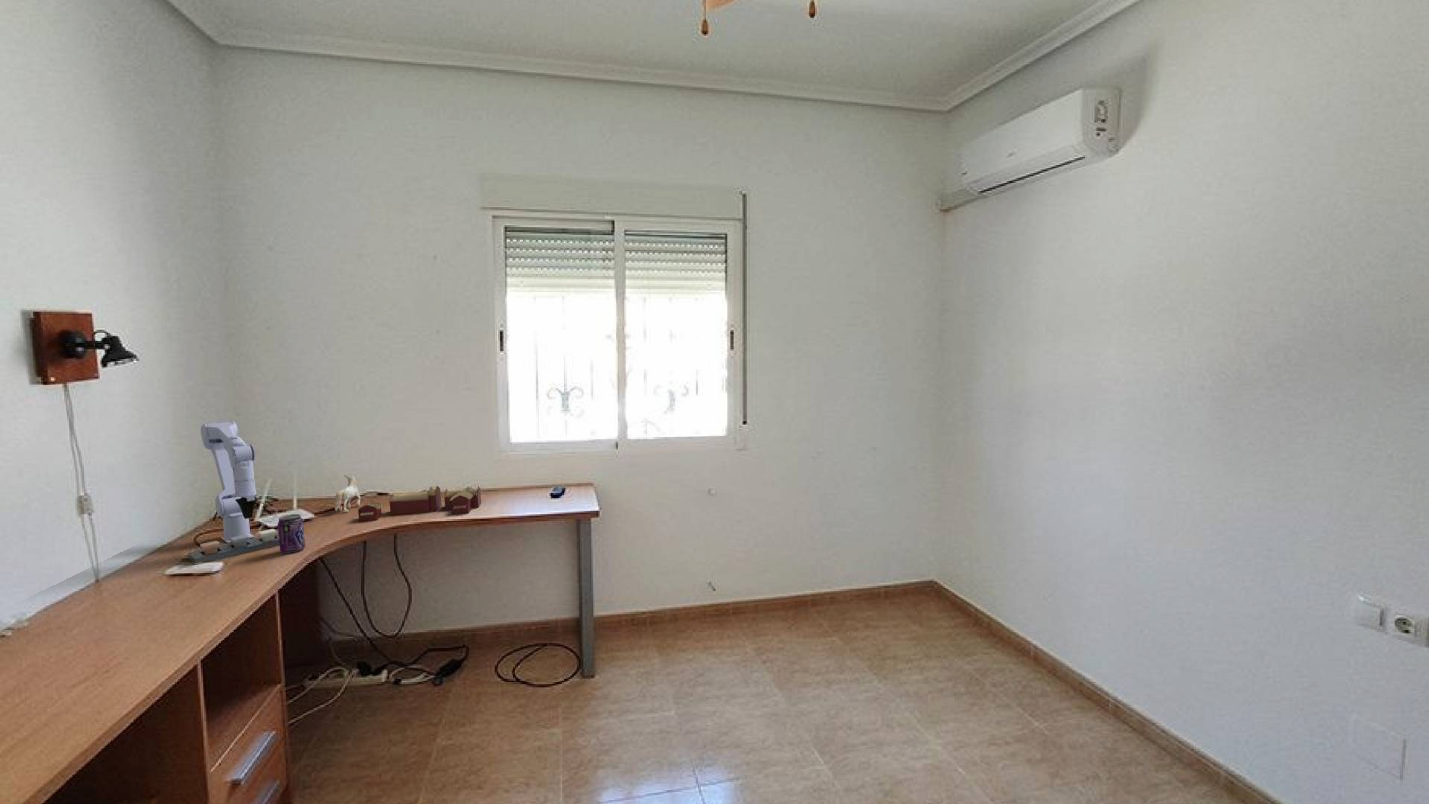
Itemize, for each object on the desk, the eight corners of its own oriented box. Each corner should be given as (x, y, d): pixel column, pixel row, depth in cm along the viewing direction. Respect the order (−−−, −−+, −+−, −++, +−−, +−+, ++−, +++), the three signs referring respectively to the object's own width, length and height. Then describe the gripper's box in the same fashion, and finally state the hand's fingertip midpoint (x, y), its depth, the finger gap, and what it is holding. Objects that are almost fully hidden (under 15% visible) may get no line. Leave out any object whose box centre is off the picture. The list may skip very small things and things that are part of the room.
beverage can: (292, 554, 202) (289, 520, 201) (275, 553, 203) (271, 519, 202) (310, 547, 209) (307, 514, 207) (293, 546, 210) (290, 513, 209)
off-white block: (259, 541, 213) (258, 531, 213) (274, 537, 217) (273, 528, 216) (262, 543, 211) (261, 534, 210) (277, 540, 214) (276, 531, 214)
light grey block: (231, 547, 207) (229, 537, 207) (246, 543, 211) (245, 534, 210) (234, 550, 205) (233, 540, 204) (250, 546, 208) (249, 536, 208)
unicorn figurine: (364, 502, 270) (362, 473, 268) (353, 513, 251) (351, 482, 250) (346, 504, 268) (343, 474, 266) (334, 515, 249) (331, 484, 248)
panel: (188, 558, 201) (188, 552, 201) (281, 537, 221) (280, 532, 221) (195, 564, 195) (194, 558, 194) (289, 543, 214) (289, 537, 214)
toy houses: (482, 501, 266) (480, 479, 265) (475, 514, 246) (473, 490, 245) (370, 511, 256) (368, 487, 255) (353, 524, 236) (351, 499, 235)
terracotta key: (201, 554, 201) (199, 544, 201) (217, 550, 205) (216, 540, 204) (204, 556, 198) (202, 546, 198) (220, 552, 202) (219, 543, 201)
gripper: (225, 479, 212) (229, 517, 213) (234, 485, 202) (238, 524, 204) (249, 475, 217) (253, 512, 218) (260, 481, 208) (264, 519, 209)
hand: (248, 517), depth 211 cm, fingers closed
